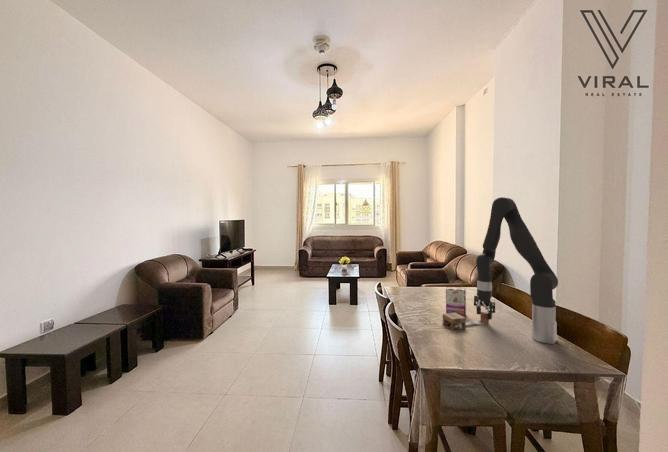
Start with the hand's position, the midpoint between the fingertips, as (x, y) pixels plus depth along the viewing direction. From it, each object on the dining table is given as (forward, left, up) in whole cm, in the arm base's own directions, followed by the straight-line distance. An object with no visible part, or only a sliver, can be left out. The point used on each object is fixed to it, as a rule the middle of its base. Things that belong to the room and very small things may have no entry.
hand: (483, 316), depth 164 cm
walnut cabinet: (+9, +17, -4) cm, 20 cm away
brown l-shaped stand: (+3, +5, -4) cm, 7 cm away
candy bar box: (+17, -2, -4) cm, 18 cm away
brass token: (+9, +17, -4) cm, 20 cm away
